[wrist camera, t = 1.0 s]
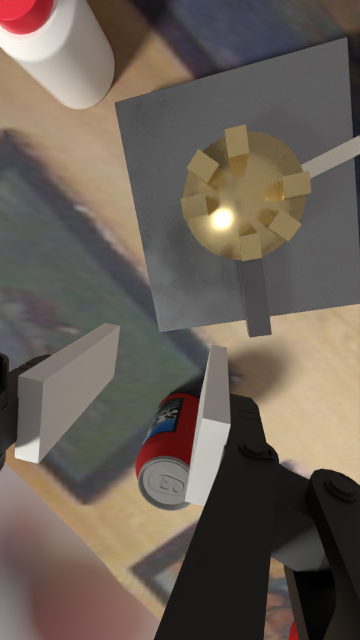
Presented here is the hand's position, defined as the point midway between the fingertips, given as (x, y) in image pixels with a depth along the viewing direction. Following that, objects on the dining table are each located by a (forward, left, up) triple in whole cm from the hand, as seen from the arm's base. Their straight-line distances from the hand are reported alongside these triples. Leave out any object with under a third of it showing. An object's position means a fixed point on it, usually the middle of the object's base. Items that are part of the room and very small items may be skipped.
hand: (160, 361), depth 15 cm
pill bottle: (-26, -8, -21) cm, 34 cm away
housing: (-9, +6, -21) cm, 23 cm away
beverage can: (+14, -4, -21) cm, 26 cm away
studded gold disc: (-5, +6, -16) cm, 18 cm away
